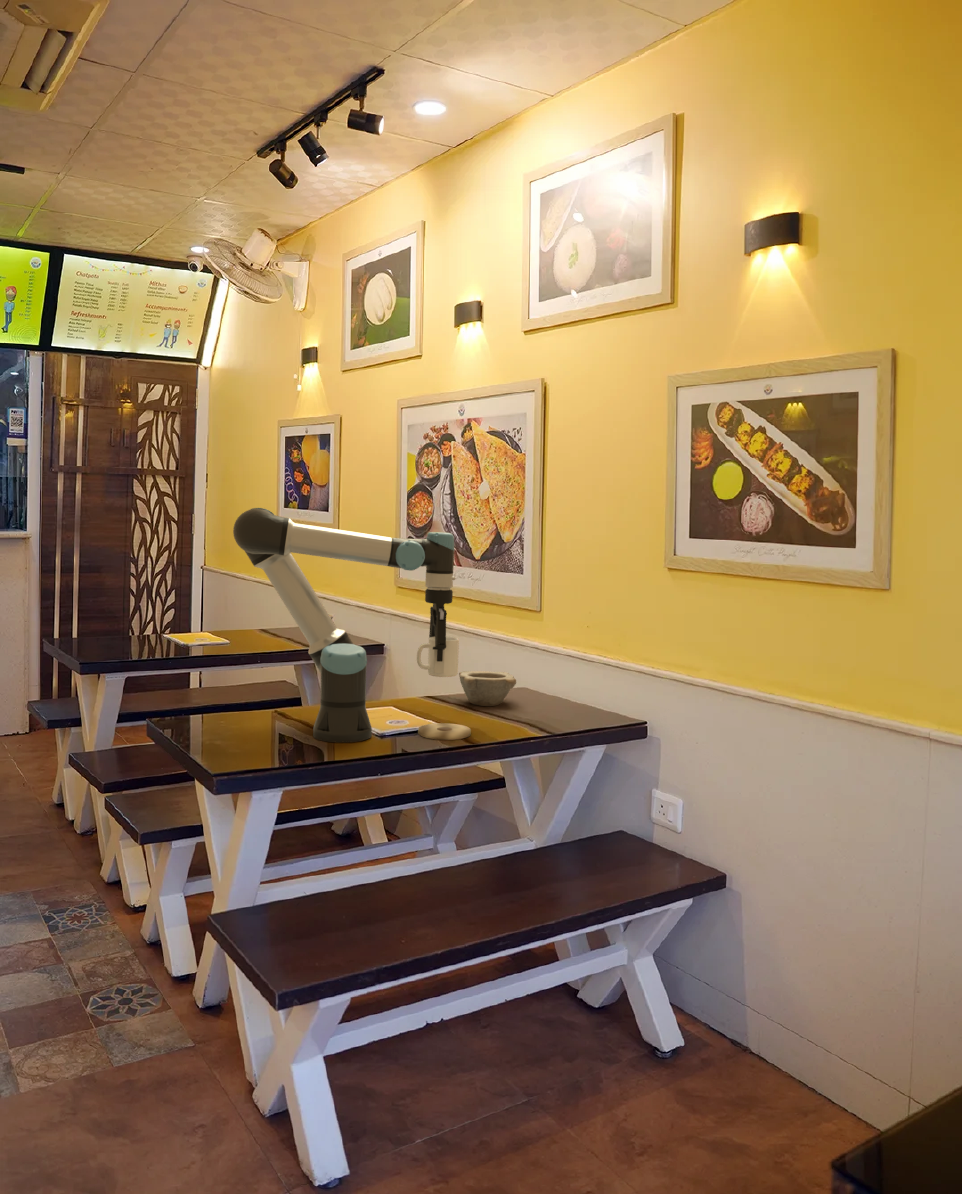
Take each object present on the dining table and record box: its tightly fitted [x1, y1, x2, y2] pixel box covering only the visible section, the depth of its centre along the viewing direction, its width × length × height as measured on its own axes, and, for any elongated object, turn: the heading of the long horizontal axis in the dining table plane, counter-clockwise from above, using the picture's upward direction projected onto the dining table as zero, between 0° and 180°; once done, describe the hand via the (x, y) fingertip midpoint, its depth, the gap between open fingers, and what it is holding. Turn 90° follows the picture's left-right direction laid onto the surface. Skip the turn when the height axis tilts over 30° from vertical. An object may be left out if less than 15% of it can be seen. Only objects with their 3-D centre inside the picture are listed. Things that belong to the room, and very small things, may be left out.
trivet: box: [417, 722, 472, 741], centre depth 267 cm, size 14×14×1 cm
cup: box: [416, 636, 460, 678], centre depth 276 cm, size 8×12×10 cm
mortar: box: [458, 670, 517, 707], centre depth 309 cm, size 17×17×9 cm
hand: (436, 670), depth 277 cm, fingers closed on cup, 8 cm apart
